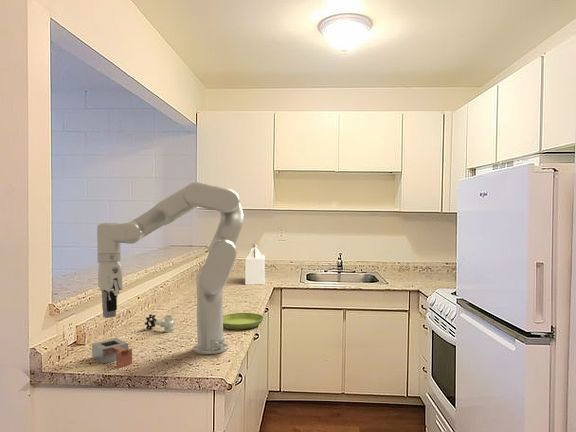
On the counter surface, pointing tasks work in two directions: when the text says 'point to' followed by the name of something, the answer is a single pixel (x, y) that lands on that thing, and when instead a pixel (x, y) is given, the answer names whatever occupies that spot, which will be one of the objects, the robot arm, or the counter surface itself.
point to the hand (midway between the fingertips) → (109, 309)
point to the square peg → (105, 312)
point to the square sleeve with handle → (112, 352)
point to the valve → (160, 323)
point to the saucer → (242, 320)
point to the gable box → (255, 266)
